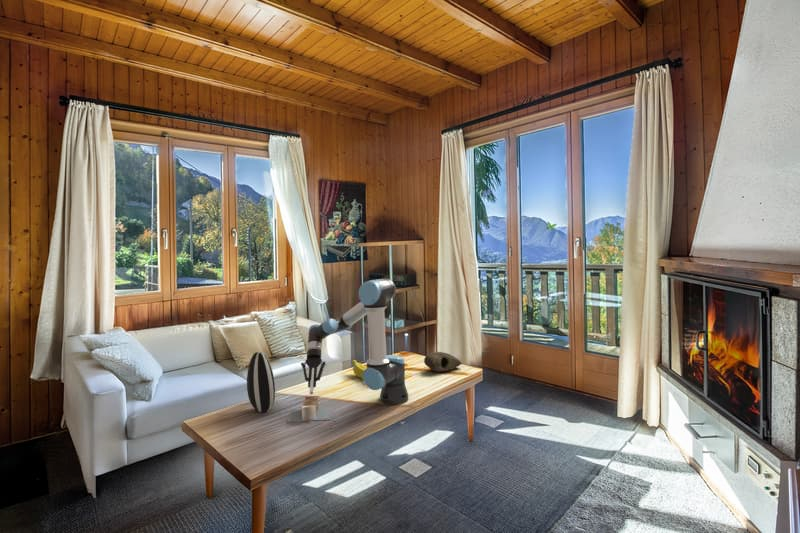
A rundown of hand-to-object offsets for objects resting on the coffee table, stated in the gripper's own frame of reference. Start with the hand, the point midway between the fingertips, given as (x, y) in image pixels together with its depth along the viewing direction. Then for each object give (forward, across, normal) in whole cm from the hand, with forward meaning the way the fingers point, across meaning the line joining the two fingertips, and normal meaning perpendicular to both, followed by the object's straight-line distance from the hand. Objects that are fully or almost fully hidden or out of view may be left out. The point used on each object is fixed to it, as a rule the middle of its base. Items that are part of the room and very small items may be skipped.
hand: (311, 393), depth 207 cm
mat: (+10, 0, -2) cm, 11 cm away
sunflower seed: (+5, +25, -7) cm, 27 cm away
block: (+3, 0, -5) cm, 5 cm away
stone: (-32, -76, -44) cm, 94 cm away
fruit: (-25, -27, -37) cm, 52 cm away
